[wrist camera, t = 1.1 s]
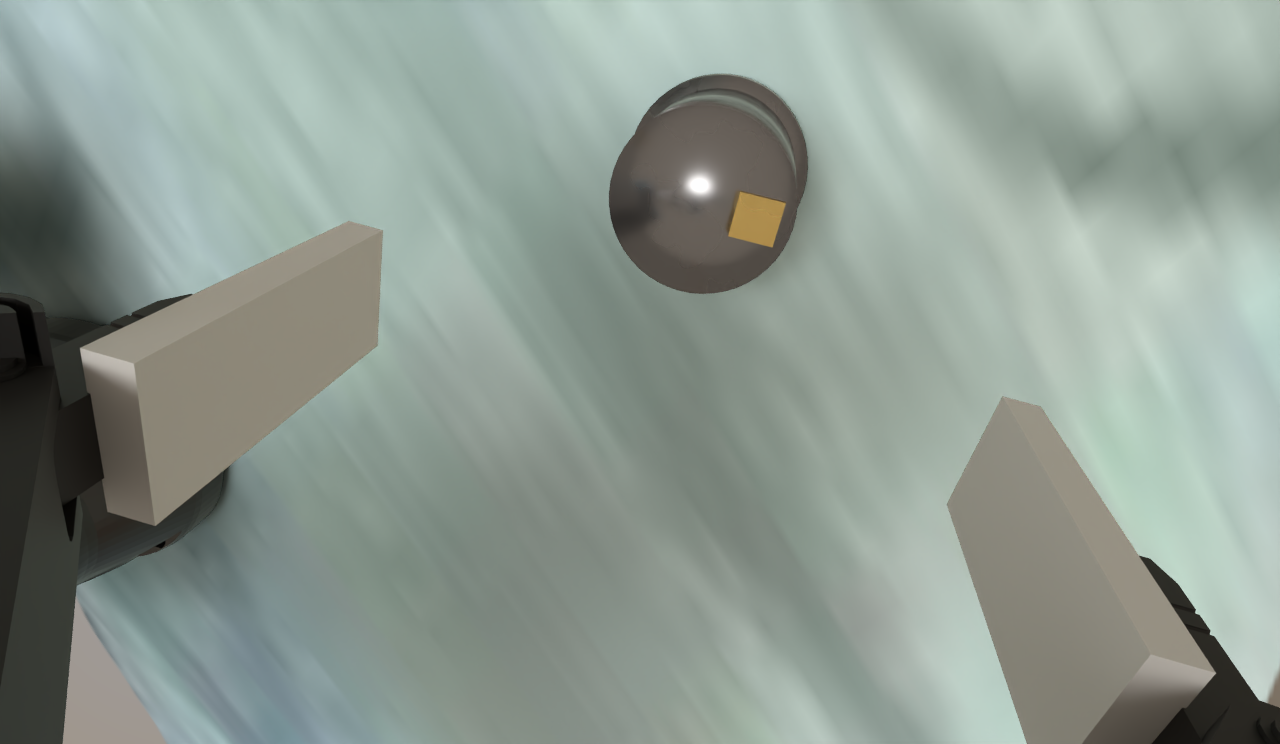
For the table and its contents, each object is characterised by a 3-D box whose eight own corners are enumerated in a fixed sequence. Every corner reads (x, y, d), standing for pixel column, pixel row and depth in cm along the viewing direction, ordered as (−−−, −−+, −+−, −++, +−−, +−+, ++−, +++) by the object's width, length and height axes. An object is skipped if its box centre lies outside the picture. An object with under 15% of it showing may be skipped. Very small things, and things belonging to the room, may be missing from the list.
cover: (617, 229, 34) (578, 279, 27) (651, 54, 30) (615, 64, 24) (777, 270, 33) (775, 330, 27) (831, 97, 30) (844, 120, 23)
